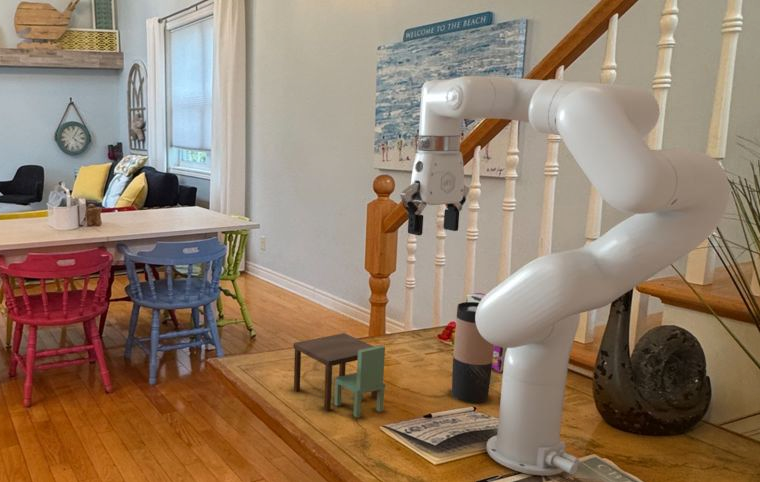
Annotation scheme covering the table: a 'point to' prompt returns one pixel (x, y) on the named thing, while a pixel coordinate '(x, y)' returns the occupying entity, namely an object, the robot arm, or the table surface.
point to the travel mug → (470, 357)
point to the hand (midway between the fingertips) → (433, 232)
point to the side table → (329, 358)
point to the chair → (364, 378)
